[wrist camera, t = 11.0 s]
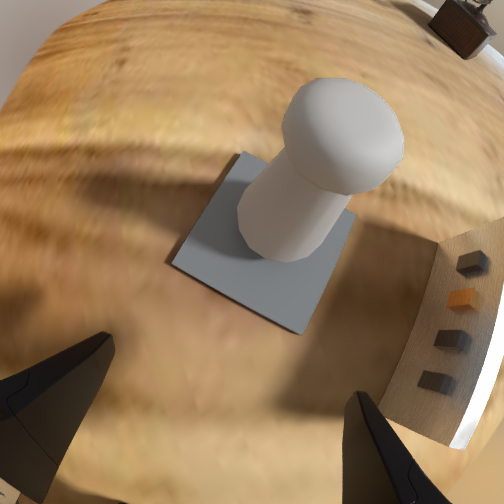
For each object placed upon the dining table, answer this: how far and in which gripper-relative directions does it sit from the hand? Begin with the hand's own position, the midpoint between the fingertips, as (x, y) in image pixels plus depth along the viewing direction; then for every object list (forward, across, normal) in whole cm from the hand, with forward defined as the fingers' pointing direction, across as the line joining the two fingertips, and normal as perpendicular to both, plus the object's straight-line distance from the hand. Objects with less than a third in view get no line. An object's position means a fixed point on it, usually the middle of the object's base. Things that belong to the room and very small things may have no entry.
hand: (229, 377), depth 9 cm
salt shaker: (+13, -1, -1) cm, 13 cm away
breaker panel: (+12, -15, +4) cm, 19 cm away
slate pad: (+13, 0, 0) cm, 13 cm away
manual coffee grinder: (+47, -28, -37) cm, 66 cm away
